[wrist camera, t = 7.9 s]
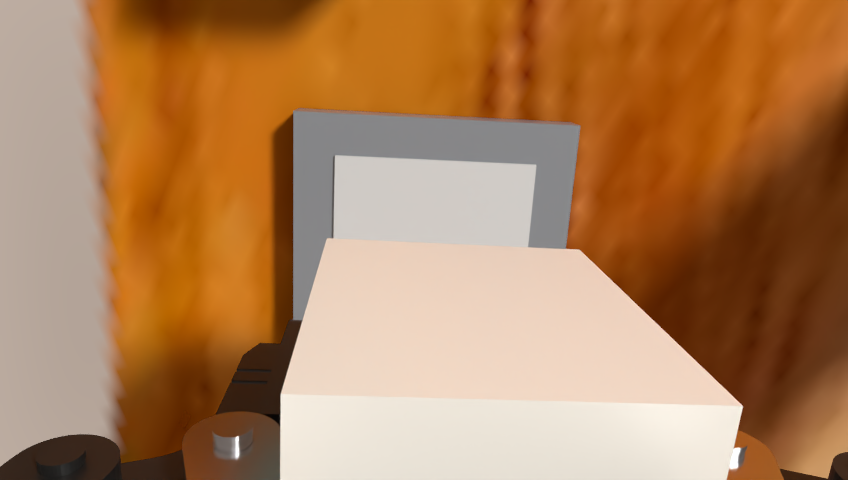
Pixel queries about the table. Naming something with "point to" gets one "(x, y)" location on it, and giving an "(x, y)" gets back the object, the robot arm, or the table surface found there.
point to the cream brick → (491, 373)
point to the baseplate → (426, 182)
